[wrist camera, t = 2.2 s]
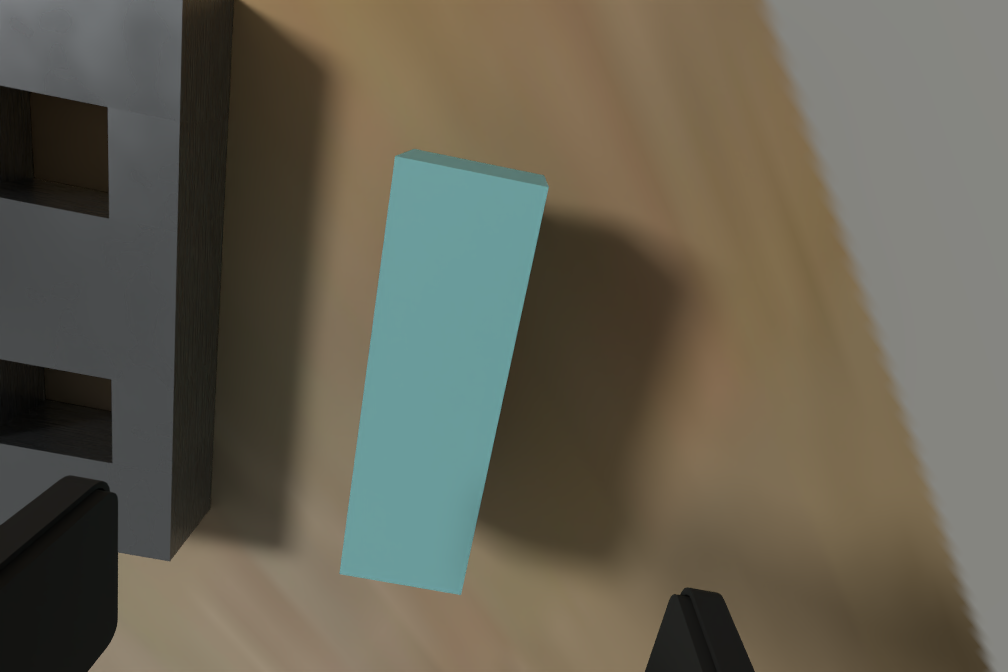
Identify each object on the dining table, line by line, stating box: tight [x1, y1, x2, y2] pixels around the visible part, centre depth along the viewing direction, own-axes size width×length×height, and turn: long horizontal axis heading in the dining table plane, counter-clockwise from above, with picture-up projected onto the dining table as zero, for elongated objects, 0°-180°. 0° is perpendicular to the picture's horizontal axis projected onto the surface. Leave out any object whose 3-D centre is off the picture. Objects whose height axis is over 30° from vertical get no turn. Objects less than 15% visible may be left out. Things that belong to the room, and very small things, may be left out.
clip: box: [340, 149, 549, 595], centre depth 19 cm, size 12×4×6 cm, turn 169°
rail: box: [0, 0, 234, 561], centre depth 20 cm, size 18×8×3 cm, turn 169°
